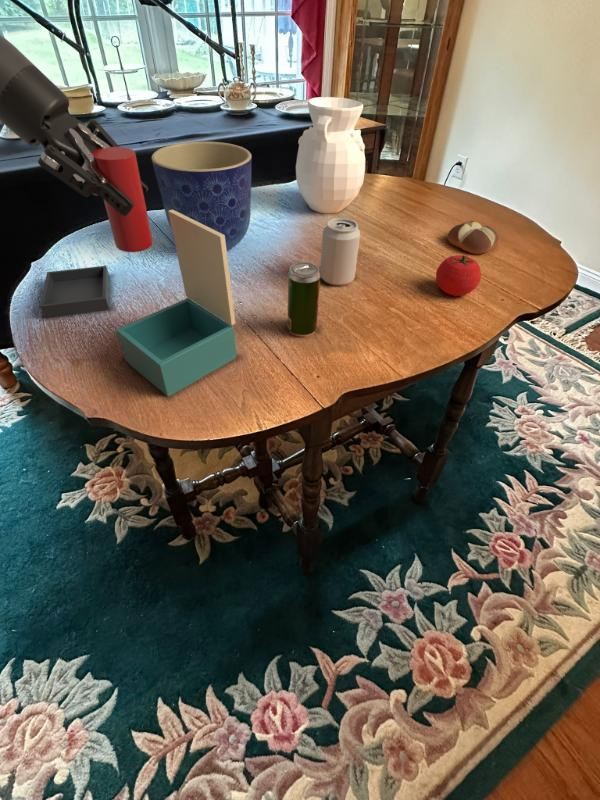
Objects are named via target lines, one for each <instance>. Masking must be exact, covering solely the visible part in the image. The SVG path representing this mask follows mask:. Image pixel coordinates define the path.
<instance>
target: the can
mask: <svg viewBox="0 0 600 800" xmlns="http://www.w3.org/2000/svg"><path fill="white" fill-rule="evenodd" d="M321 238H322V239H321V252H320V253H321V254H320V268H319V273H320V279H322V280H323V281H324V282H325V283H326V284H328V285H331V286H338V287H341V286H346V285H348V284H350V283H352V282H353V281H354V280H355V277H356V270H357V264H358V263H357V262H358V254H359V249H360V247H359V246H360V238H361V231H360V229H359V224H358V223H357V222H356V220H353V219H349V218H345V217H337V218H332V219H329V220H328V221H327V222H326V226H325V227H323V230H322V237H321Z"/></svg>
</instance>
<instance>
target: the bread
mask: <svg viewBox="0 0 600 800" xmlns="http://www.w3.org/2000/svg"><path fill="white" fill-rule="evenodd" d="M446 238H447V240H448V242H449V243H450V244H451V245H453V246H455V247H457V248H459V249H461V250H462V251H466V252H468V253H469V254H475V255H481V254H485V253H487V252H489V251H491V250H493V248H494V247H496V246H497V244H498V243H499V236H498V233H497V232H496V230H495V229H494V228H492V227H491V226H489V225H483V226H482V225H481V223H479V222H478V221H475V220H471V221H465V222H463V223H460V224H457V225H455V226H453V227H452V228H451V229H450V230H449V231H448V233H447V237H446Z"/></svg>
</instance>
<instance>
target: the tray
mask: <svg viewBox="0 0 600 800" xmlns="http://www.w3.org/2000/svg"><path fill="white" fill-rule="evenodd" d="M109 273H110V272H109V270H108V267H107V265H100V266H99V265H98V266H90V267H80V268H74V269H73V268H72V269H62V270H53V271H47V272H46V276H45V280H44V285H43V290H42V294H41V299H40V304H39V309H40V310H41V312H42V314H43V317H44V319H51V318H59V317H66V316H74V315H75V316H76V315H81V314H90V313H96V312H97V313H98V312H104V311H105V312H106V311H110V310H111V309H110V308H111V307H110V304H111V303H110V302H111V301H110V300H111V299H110V297H111V296H110V293H111V291H110V289H111V288H110V287H111V286H110V285H111V282H110V281H111V280H110V278H111V276H110V274H109Z"/></svg>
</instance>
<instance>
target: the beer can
mask: <svg viewBox="0 0 600 800" xmlns="http://www.w3.org/2000/svg"><path fill="white" fill-rule="evenodd" d="M320 285H321V276H320V268H319V266H318V265H317V264H316V263H315V264H314V263H312V262H309V261H306V262H305V261H299V262H295V263H293V264H291V265H290V266H289V271H288V272H287V324H286V325H287V330H288V331H289V333H290V334H291V335H293V336H295V337H298V338H306V337H310V336H312V335H314V334H315V332H316V331H317V329H318V317H319V304H320V303H319V301H320V300H319V299H320Z"/></svg>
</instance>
